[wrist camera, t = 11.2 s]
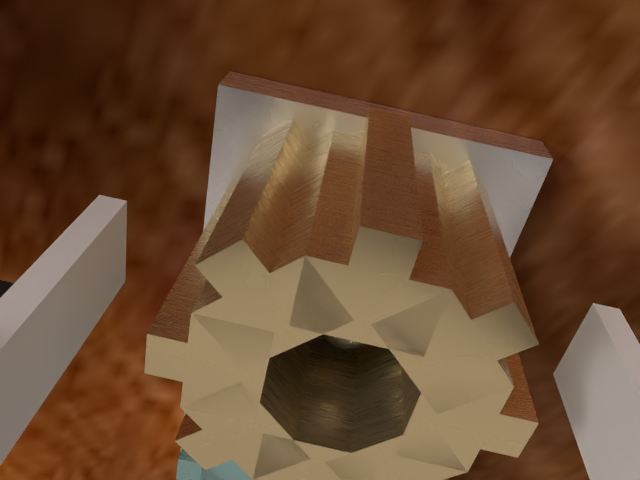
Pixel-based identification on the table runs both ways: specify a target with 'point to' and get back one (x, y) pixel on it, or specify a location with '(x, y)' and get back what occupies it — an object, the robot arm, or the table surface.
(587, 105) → the table surface
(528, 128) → the table surface
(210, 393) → the gear
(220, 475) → the carrier
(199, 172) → the table surface
